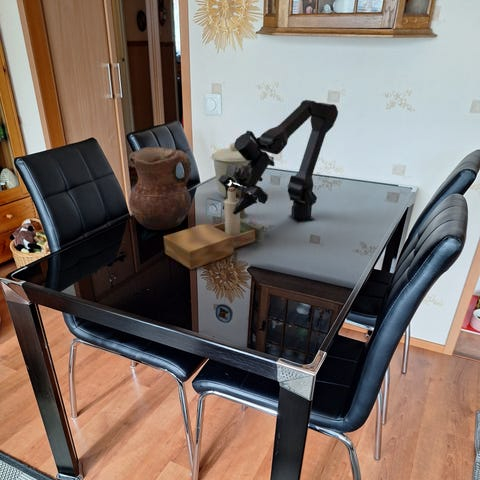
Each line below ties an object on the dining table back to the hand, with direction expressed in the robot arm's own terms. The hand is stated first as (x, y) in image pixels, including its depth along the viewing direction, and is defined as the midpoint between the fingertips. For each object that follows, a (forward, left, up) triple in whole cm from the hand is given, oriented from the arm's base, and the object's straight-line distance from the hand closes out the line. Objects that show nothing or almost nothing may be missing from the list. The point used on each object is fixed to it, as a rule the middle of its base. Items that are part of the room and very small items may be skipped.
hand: (228, 211), depth 137 cm
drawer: (-2, -1, -10) cm, 10 cm away
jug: (+18, -25, -11) cm, 33 cm away
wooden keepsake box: (+11, +5, -11) cm, 16 cm away
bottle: (-1, -1, -7) cm, 7 cm away
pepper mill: (-10, -23, -11) cm, 27 cm away
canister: (-16, -46, -11) cm, 50 cm away
